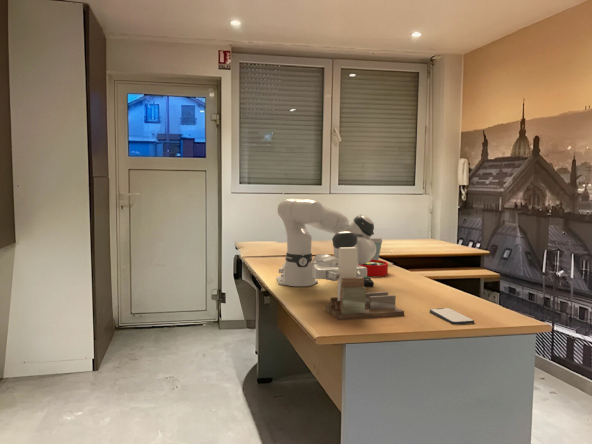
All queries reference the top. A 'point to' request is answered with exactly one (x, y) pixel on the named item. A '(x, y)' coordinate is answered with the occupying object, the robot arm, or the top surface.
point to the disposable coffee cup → (377, 247)
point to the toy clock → (376, 268)
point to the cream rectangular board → (346, 265)
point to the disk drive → (368, 282)
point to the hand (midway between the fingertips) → (348, 276)
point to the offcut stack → (352, 295)
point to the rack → (368, 307)
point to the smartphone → (451, 316)
